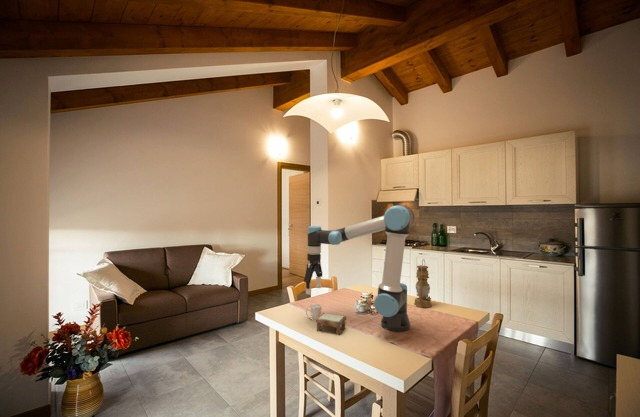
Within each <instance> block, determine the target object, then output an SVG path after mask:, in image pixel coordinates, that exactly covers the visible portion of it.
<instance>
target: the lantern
mask: <svg viewBox="0 0 640 417" xmlns="http://www.w3.org/2000/svg"><path fill="white" fill-rule="evenodd" d="M423 263H426V261H425V259H422V260H421V264H419V265H416V268H417V270H416V276H415V277H416V278H417V282H416V283H415V290H416V296H417V297H416V298H415V299H414V306H415V305H416V306H415V307H417V306H418V307H417V308H421V307H429V308H431V307H432V303H431V301H432V298H431V297H430V296H429V294H430V293H431V292H430V291H431V285H430V284H429V281H428V279H429V278H430V276H429V270H428V269H429V266H427V265H424V264H423Z"/></svg>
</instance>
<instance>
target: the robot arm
mask: <svg viewBox="0 0 640 417" xmlns="http://www.w3.org/2000/svg"><path fill="white" fill-rule="evenodd" d="M415 216H416V215H415V212H414V210H413V209H412V208H410V207H409V206H407V205H399V204H398V205H393V206H391V207H389V208H387V210H386V211H385V212H384V215H381V216H378V217H375V218H372V219H369V220H365V221H362V222H358V223H355V224H352V225H349V226H346V227H341V228H339V229H331V230H330V229H329V230H326V229H325V230H323V229H322V227H321V226H320V225H310V226H308V227H307V248H306V249H307V255H306V256H307V259H306V260H307V261H308V262H309V263H307V264H306V270H305V274H304V278H303V282H304V283H305V294H306V295H312V282H311V281H312V279H313V278H312V277H313V274H314V273H315V288H316V289H321V286H322V284H321V282H322V281H321V280H322V278H323V269H322V264H321V259H322V258H321V257H322V254H321V252H322V244H324V245H333V246H339V245H340V244H341V243H343V242H346V241H350V240H353V239H356V238H361V237H363V236H367V235H371V234H375V233H378V232H382V231H384V232H385V235H386V236H387V238H386V246H385V253H384V254H385V255H384V263H383V273H382V280H381V283H379V284H378V288H377V295H376V296H375V298H374V301H373V305H374V309H375V311H376V312H377V313H378V314H379V315H380V316H381V320H380V325H381V326H380V327H382V328H383V329H384V330H385V329H386V330H388V331H391V332H406V331H408V330H410V329H411V321H410V318H409V315H408V286H407V285H406V283H401V278H402V277H401V276H402V270H403V269H402V268H403V262H404V261H403V260H404V253H405V243H406V238H407V237H408V236H410V230H411V226H412V225H413V224H414V221H415Z"/></svg>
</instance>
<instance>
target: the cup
mask: <svg viewBox="0 0 640 417" xmlns="http://www.w3.org/2000/svg"><path fill="white" fill-rule="evenodd" d="M322 307H323V305H322V304H320V303H312V304H310V305H308V306H307V307H305V315H306V316H307V317H308V318H309V319H310V320H312V321H313V322H316V319H317V318H318V317H319V316H320V315H322V314H321V313H322ZM308 308H310V315H311V316H310V315H309V313H308V312H307V311H308Z"/></svg>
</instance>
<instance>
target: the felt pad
mask: <svg viewBox="0 0 640 417" xmlns="http://www.w3.org/2000/svg"><path fill="white" fill-rule="evenodd" d="M323 313H324V314H323ZM323 313H322V314H323V315H322V314H321V315H322V316H321V317H320V318H319V319H322V320H329V321H335V322H340V320H341V319H342V318H343V317H344V316H345V315H340V314H333V315H332V313H327V314H326V312H323ZM339 315H340V316H339Z"/></svg>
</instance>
